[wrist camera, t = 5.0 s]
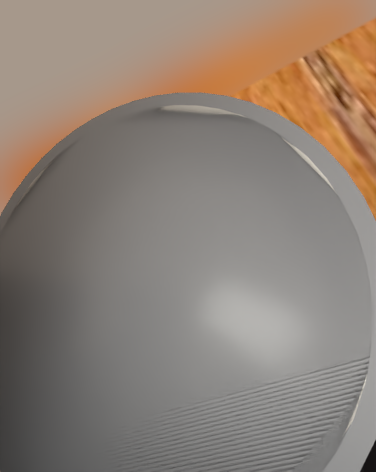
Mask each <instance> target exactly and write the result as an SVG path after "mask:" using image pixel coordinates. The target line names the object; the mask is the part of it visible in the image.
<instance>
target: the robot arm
mask: <svg viewBox="0 0 376 472" xmlns="http://www.w3.org/2000/svg"><path fill="white" fill-rule="evenodd" d="M360 472H376V440H375V442H374V444H373V446H372V448H371V450H370V452H369V454H368V456H367V458H366V460H365V462H364V464H363V466H362V468H361V470H360Z"/></svg>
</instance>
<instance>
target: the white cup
mask: <svg viewBox="0 0 376 472" xmlns="http://www.w3.org/2000/svg"><path fill="white" fill-rule="evenodd" d="M375 440H376V221H375V219H374V217H373V215H372V212H371V210H370V208H369V206H368V204H367V202H366V200H365V198H364V196H363V195H362V194H361V192H360V191H359V189H358V188H357V186H356V185H355V183H354V182H353V180H352V179H351V178H350V176H349V175H348V173H347V172H346V170H345V169H344V168H343V167H342V166H341V165H340V164H339V162H338V161H337V160H336V159H335V158H334V157H333V156H332V155H331V154H330V153H329V152H328V151H327V149H326V148H325V147H324V146H323V145H321V144H320V143H319V142H318V141H316V140H315V139H314V138H313V137H312V136H310V135H309V134H308V133H307V132H305V131H304V130H303V129H302V128H300V127H299V126H297V125H295V124H294V123H292V122H290V121H289V120H287V119H285V118H284V117H282V116H280V115H279V114H277V113H275V112H273V111H270V110H268V109H266V108H263V107H261V106H258V105H256V104H254V103H251V102H248V101H244V100H240V99H236V98H232V97H229V96H224V95H215V94H208V93H173V94H165V95H157V96H152V97H148V98H144V99H140V100H136V101H132V102H130V103H127V104H124V105H122V106H119V107H116V108H113V109H111V110H109V111H107V112H105V113H103V114H101V115H99V116H97V117H95V118H93V119H92V120H90V121H88V122H87V123H85V124H84V125H82V126H80V127H79V128H77V129H76V130H74V131H73V132H72V133H70V134H69V135H68V136H67V137H66V138H64V139H63V140H62V141H60V142H59V143H58V144H56V145H55V146H54V147H53V148H52V149H51V150H50V151H49V152H48V153H47V154H46V155H45V156H44V157H43V158H42V159H41V160H40V161H39V162H38V163H37V164H36V165H35V167H34V168H33V169H32V170H31V171H30V172H29V173H28V175H27V176H26V177H25V179H24V180H23V181H22V183H21V184H20V185H19V187H18V188H17V189H16V191H15V192H14V193H13V195H12V197H11V198H10V200H9V202H8V203H7V205H6V207H5V209H4V210H3V212H2V214H1V216H0V471H1V472H360V470H361V468H362V466H363V464H364V462H365V460H366V458H367V456H368V454H369V452H370V450H371V448H372V446H373V444H374V442H375Z"/></svg>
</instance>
